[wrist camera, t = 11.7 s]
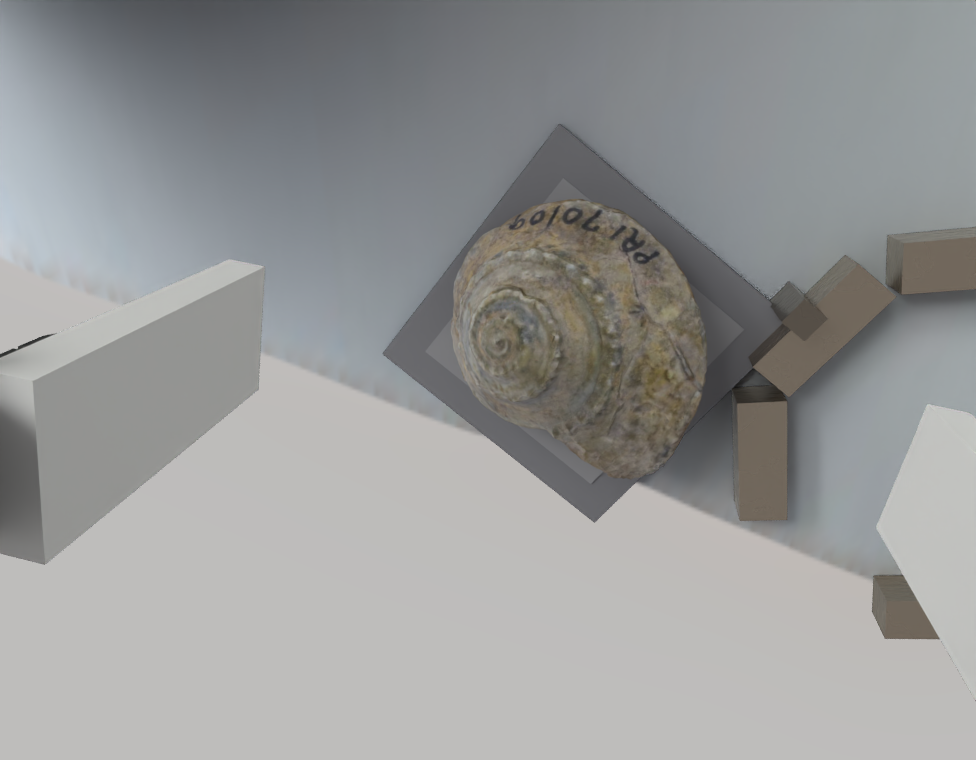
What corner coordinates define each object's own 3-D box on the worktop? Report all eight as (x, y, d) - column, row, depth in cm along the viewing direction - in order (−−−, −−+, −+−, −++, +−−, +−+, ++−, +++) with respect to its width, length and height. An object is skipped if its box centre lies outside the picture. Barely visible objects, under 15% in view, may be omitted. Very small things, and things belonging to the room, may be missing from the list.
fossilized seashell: (632, 145, 29) (630, 245, 24) (744, 334, 34) (761, 449, 29) (419, 261, 34) (380, 363, 29) (544, 410, 40) (530, 519, 34)
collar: (644, 426, 36) (645, 455, 33) (940, 129, 29) (974, 131, 26) (956, 680, 37) (984, 730, 34) (1298, 447, 31) (1369, 483, 28)
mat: (386, 350, 37) (381, 354, 36) (560, 124, 32) (558, 124, 31) (595, 516, 38) (594, 523, 37) (794, 321, 33) (797, 325, 32)
